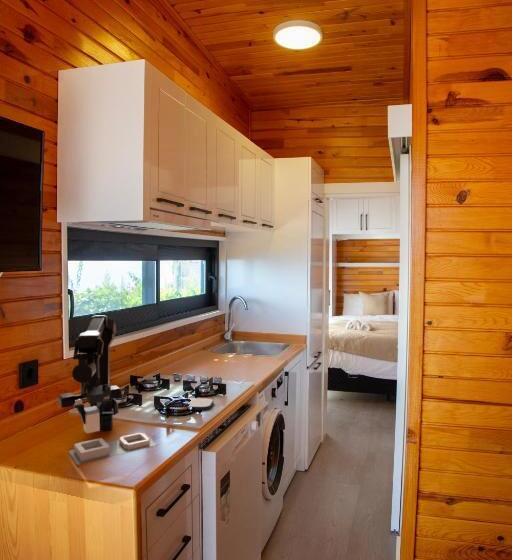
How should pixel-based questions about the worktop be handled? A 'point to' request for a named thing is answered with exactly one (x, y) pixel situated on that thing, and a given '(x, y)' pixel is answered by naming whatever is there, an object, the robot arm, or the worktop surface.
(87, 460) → the panel
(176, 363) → the worktop surface
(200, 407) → the external hard drive
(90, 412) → the plug
